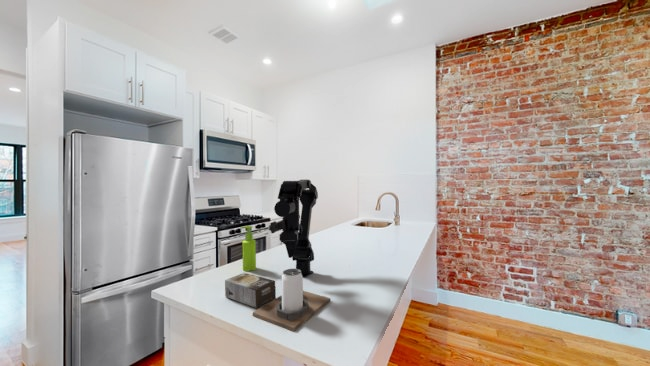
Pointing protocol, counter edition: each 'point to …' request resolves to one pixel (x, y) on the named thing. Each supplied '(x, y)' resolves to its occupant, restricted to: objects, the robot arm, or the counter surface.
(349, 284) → the counter surface
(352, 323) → the counter surface
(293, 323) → the carrier board
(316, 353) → the counter surface
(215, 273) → the counter surface
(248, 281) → the coffee box
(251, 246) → the soap dispenser
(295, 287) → the can
